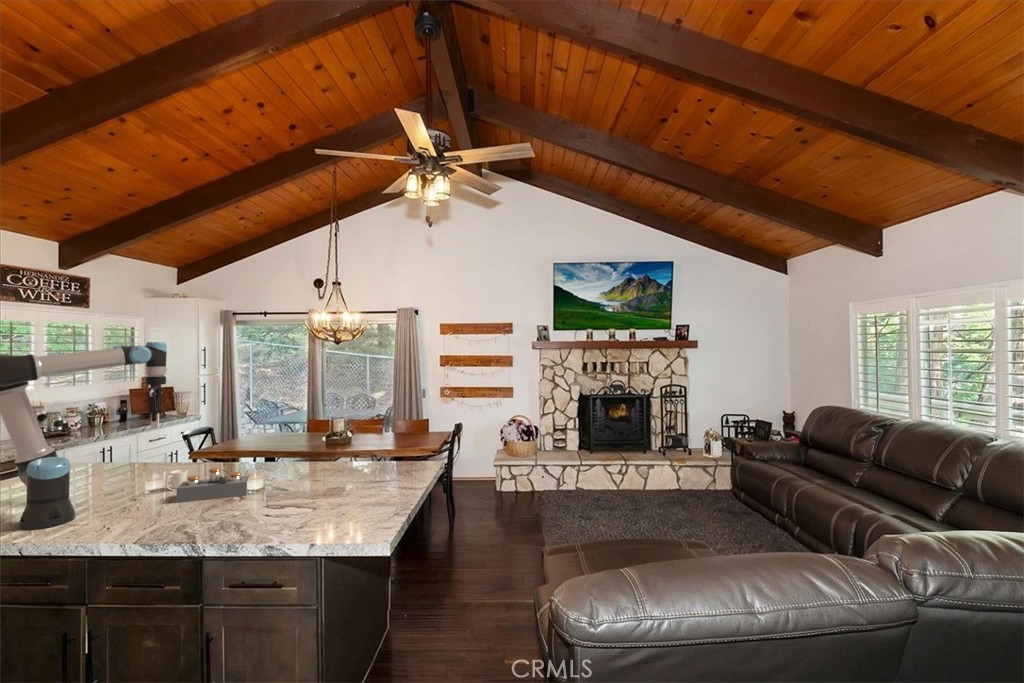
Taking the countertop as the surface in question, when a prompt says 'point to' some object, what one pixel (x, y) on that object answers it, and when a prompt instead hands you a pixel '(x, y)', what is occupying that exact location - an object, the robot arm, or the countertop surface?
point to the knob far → (235, 476)
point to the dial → (223, 479)
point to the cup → (176, 478)
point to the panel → (211, 490)
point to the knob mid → (214, 475)
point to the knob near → (193, 480)
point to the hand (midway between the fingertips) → (154, 428)
